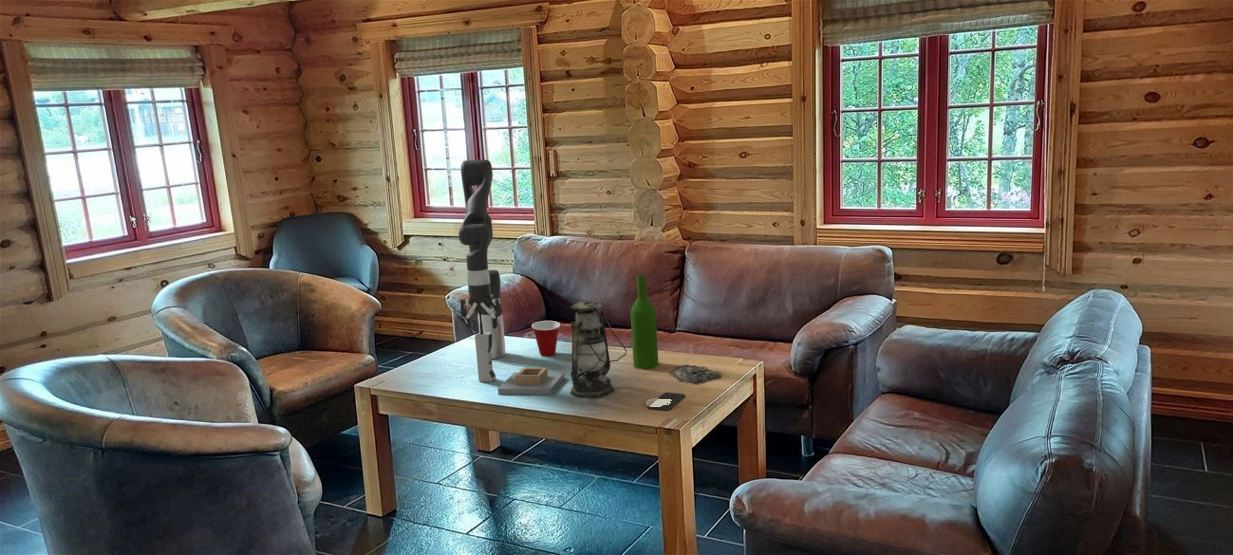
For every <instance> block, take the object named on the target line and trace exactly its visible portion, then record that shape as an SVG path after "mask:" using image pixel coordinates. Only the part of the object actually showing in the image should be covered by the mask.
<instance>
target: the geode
mask: <svg viewBox="0 0 1233 555" xmlns="http://www.w3.org/2000/svg"><path fill="white" fill-rule="evenodd" d="M670 373H671V375H670V376H671V377H672V376H675V377H676V378H675V377H674V378H675V379H677V378H678V379H677V381H678V380H679V381H678V382H679V383H684V382H686V383H685V384H689V383H692V384H691V385H694V384H695V385H700V384H699V383H701V384H704V383H707V382H708V380H709V381H711V380H716V379H720V377H721V378H722V377H723V374H722V372H719V371H714V370H712V369H711V370H710V369H709V368H708V367H706V366H697V365H690V364H684V365H677V366H675V367H674V368H672V369H671V370H670V371H669V374H670ZM721 374H722V375H721ZM715 378H716V379H715ZM706 381H707V382H706ZM703 382H704V383H703Z"/></svg>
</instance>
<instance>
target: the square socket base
mask: <svg viewBox="0 0 1233 555" xmlns="http://www.w3.org/2000/svg"><path fill="white" fill-rule="evenodd" d="M565 379H566V378H565V371H563V372H561V371H560V372H559V371H557V372H556V371H555V372H554V371H553V372H548V367H523V368H521V370H519V372H518V371H517V372H516V371H515V372H513V373H512V374H511V375H510V376H509V377H508V378H507V379H506V380H505V381H504V382H503V383H502V384H501V385H500V386H499V387H498V388H497V394H498V395H513V394H517V395H518V394H520V395H519V396H522V395H521V394H523V395H524V394H526V395H528V394H529V395H530V396H531V395H532V396H533V395H535V396H536V395H537V396H542V395H543V396H544V395H545V396H551V395H553V393H554V392H555V391H556V389H557V388H558V387H559V386H560V385H561V384H562V382H563V381H564V380H565ZM554 390H555V391H554ZM529 395H528V396H529Z"/></svg>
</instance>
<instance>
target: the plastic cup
mask: <svg viewBox="0 0 1233 555" xmlns="http://www.w3.org/2000/svg"><path fill="white" fill-rule="evenodd" d="M560 326H561V323H560V322H558V321H556V320H555V321H553V320H542V321H536V322H533V323H532V324H531V328H532V329H533V330H532V331H533V333H534V336H535V340H536V344H537V347H538V352H539V355H540V356H541V357H551V356H555V355H556V353H557V343H558V334H559V328H560Z"/></svg>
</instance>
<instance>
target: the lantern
mask: <svg viewBox="0 0 1233 555" xmlns="http://www.w3.org/2000/svg"><path fill="white" fill-rule="evenodd" d="M603 306H604V304H603V303H601V302H597V301H590V300H589V301H587V300H586V301H579V302H578V303H574V304H573V305H571V306H570V308H571V309H572V310H575V311H576V312H575V321H574V320H572V321H571V325H570V326H571V328H572V331H571V332H572V333H571V339H572V340H571V371H570V377H571V381H572V387H571V388H570V392H569V393H570V395H571V396H572V395H573V397H575V398H578V399H599V398H598V397H600V398H604V397H607V396H610V395H612V394H613V393H614V392H615V387H614V386H613V384H612V383H611V379H610V378H609V377H607V376H606V375H607V374H608V373H609V372H610V368H611V362H619V360H621V359H622V358H623V357H625V356H626V355H627V349H626V346H624V344H623V342H621V340H620V339H619V338H618V337H617V335H616V334H615V332H614V331H613V330H612V327H611V324H610V323H609V322H608V320H607V319H606V317H605V314H604V312H603V311H599V310H598V309H600V308H602V307H603ZM605 322H606V323H607V325H608V328H609V330H610V332H611V334H613V336H614V337H615V338H616V339H617V341H618V342H619V344H620V345H621V346H622V348H623V349H624V350H625V353H623V355H622V356H619V357H618V358H617V359H613V360H611V359H610V353H609V346H608V341H607V340H608V339H607V333H606V325H605ZM603 396H604V397H603Z"/></svg>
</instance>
